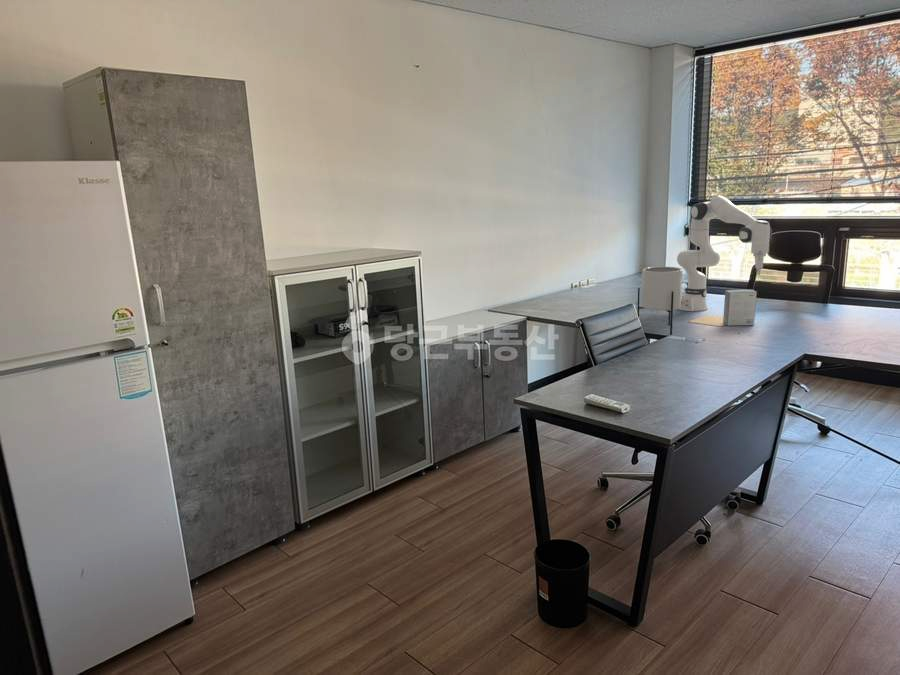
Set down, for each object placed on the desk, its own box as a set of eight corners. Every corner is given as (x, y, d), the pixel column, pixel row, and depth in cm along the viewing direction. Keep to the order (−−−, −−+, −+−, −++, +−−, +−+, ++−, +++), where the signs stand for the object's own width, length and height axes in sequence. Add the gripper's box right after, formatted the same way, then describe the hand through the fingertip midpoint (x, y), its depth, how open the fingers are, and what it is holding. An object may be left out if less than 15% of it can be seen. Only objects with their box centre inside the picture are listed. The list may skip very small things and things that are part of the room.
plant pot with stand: (680, 334, 344) (683, 272, 336) (636, 333, 352) (637, 272, 343) (679, 325, 366) (681, 266, 357) (637, 324, 374) (639, 266, 365)
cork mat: (688, 322, 372) (688, 321, 371) (706, 315, 385) (706, 315, 385) (720, 326, 357) (720, 326, 357) (738, 319, 370) (738, 319, 370)
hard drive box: (749, 322, 363) (752, 289, 357) (754, 325, 355) (757, 291, 350) (722, 322, 364) (725, 289, 359) (726, 325, 357) (729, 292, 352)
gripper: (766, 252, 332) (764, 277, 335) (765, 247, 349) (764, 271, 353) (753, 252, 334) (752, 277, 338) (753, 247, 352) (751, 271, 355)
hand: (758, 274), depth 345 cm, fingers closed
